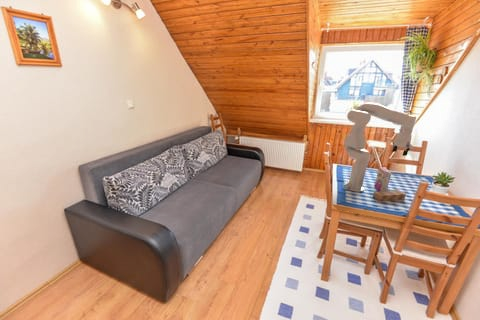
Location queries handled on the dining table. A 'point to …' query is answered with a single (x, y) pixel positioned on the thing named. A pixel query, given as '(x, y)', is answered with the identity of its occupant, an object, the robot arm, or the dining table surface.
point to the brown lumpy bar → (389, 195)
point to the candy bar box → (382, 179)
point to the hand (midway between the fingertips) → (399, 153)
